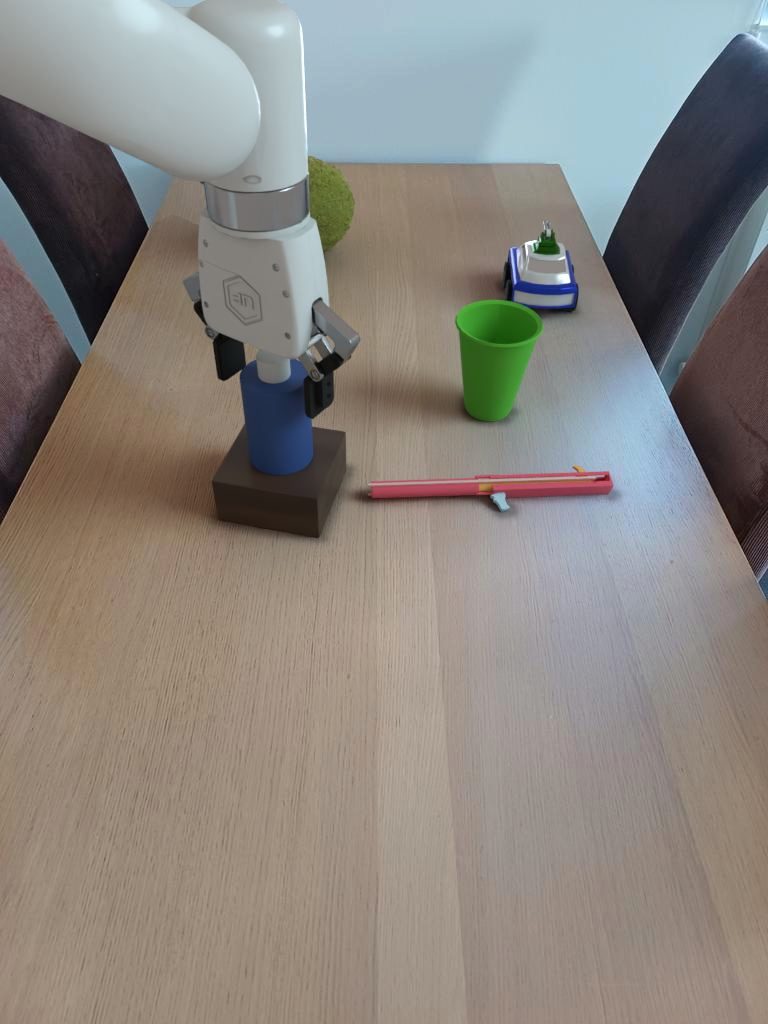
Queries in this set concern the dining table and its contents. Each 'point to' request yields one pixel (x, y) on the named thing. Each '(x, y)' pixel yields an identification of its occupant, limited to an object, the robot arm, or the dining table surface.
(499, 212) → the dining table surface
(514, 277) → the toy car
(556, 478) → the pink long slotted bar
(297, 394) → the bottle
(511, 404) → the cup
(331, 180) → the fruit
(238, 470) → the block
